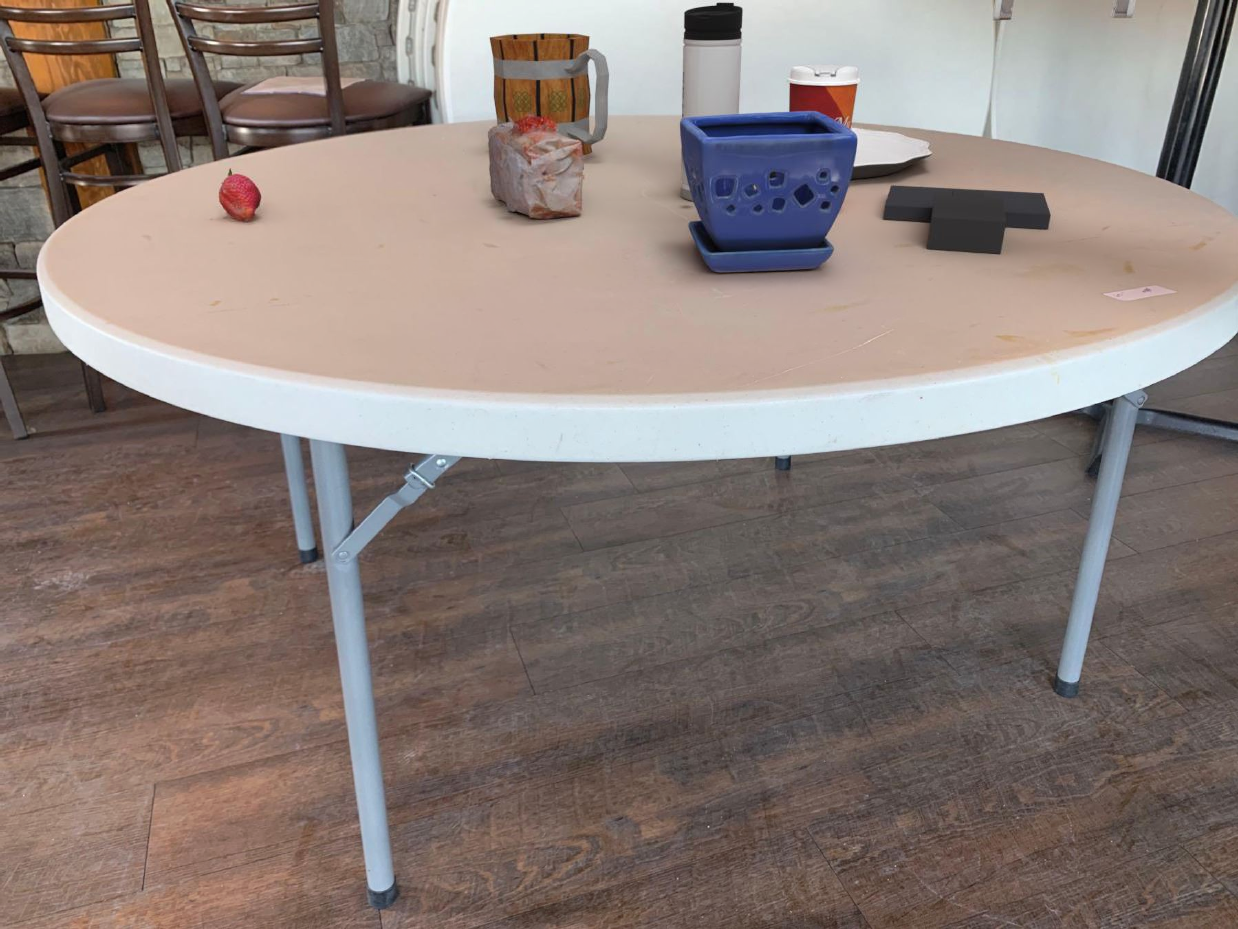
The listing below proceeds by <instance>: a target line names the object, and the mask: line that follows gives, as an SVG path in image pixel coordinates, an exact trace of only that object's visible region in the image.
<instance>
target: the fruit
mask: <svg viewBox="0 0 1238 929" xmlns="http://www.w3.org/2000/svg"><path fill="white" fill-rule="evenodd" d="M218 199H219V201H218V202H219V203H220V205H221V206H222V208H223V209H224V211H225V213H227V214H228V216H230V217H231V218H233V219H235V220H238V221H240V222H245V221H247V222H248V221H250V220H251V219H253V218H254V216H255V213H256V210H257V209H258V208H259V206H260V205H261V202H262V201H261V200H262V193H261V191H260V189H259V188H258V186H257V185H256V184H255V182H254V181H253V180H252V179H250V177H248V176H246V175H243V174H239V173H234V174H233V172H232V168H231V167H230V168H229V169H228V172H227V176H226V177H225V179H223V181H222V182H221V186H220V187H219V190H218Z"/></svg>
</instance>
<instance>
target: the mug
mask: <svg viewBox="0 0 1238 929" xmlns="http://www.w3.org/2000/svg"><path fill="white" fill-rule="evenodd" d="M590 38H591V37H590V35H585V34H580V33H560V32H559V33H557V32H556V33H554V32H553V33H552V32H539V33H538V32H537V33H535V32H534V33H513V34H502V35H496V36H490V37H489V43H490V49H491V53H492V62H493V64H492V65H493V102H494V107H495V115H496V126H497V125H500V124H504V123H507V122H511V121H510V119H509V117H510V118H511V119H512V121H513V122H514V121H518V120H519V118H520V119H522V118H524V117H526V116H528V115H529V114H532V113H533V114H534V116H535V117H540V118H543V117H544V116H545V117H551V118H552V121H553V122H554V123H556V124H557V129H558V130H559V131H558V134H560V135H563V136H566V137H568V138H571V139H574V140H579V141H581V143H582V153H583V156H586V155H588V154H590V153H592V152H593V150H592V146H593V145H594V144H596V143H599V142H601V141H602V140H604V139H605V135H606V132H607V129H608V120H609V118H608V117H609V85H610V84H609V82H610V72H609V67H608V62H607V58H606V55H604V54H603V53H601V51H599V50H597V49H596V48H590ZM590 60H592V61H593V63H594V68H595V75H596V79H595V80H596V81H595V90H594V92H595V94H594V114H595V115H594V129H593V133H592V134H591V133H590V110H591V99H592V98H591V97H592V94H591V87H590V77H589V62H590Z"/></svg>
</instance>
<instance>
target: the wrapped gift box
mask: <svg viewBox="0 0 1238 929" xmlns="http://www.w3.org/2000/svg"><path fill="white" fill-rule="evenodd" d="M509 119H510V121H511V122H507V123H504V124H500V125H497V124H496V125H495V126H492V127H491V128H490V129H488V132H487V134H488V135H487V138H488V141H487V146H488V159H489V160H488V161H489V166H488V171H489V177H490V178H489V180H490V192H491V194H492V196H493V198H494V199H497V200H500V201H502V202H504V203H505V204H506V210H507V212H513V213H520V214H522V215H526V216H528V217H529V218H531V219H536V220H547V219H559V218H569V217H573V216H575V217H576V216H580V215H582V213H581V212H582V210H583V205H582V204H583V182H584V181H583V180H585V179H586V178H585V174H584V172H583V171H584V169H585V166H584V155H583V153H582V143H581V141H579V140H574V139H571V138H568V137H566V136H563V135H560V134H558V131H559V130H558V129H557V124H556V123H554V122H553V121H552V118H551V117H545V116H544V117H543V118H540V117H535V116H534V114H533V113H532V114H529V115H528V116H526V117H524V118H522V119H520V118H519V120H518V121H514V122H513V121H512V119H511V118H510V117H509Z"/></svg>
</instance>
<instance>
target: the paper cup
mask: <svg viewBox="0 0 1238 929" xmlns="http://www.w3.org/2000/svg"><path fill="white" fill-rule="evenodd" d="M786 82H787V83H789V92H788V94H789V96H788V97H789V98H788V100H789V101H788V104H789V105H788V112H797V111H817V112H819V113H822V114H824V115H826V116H828V117H830V118H831V119H833V120H835V121H837V122H839V123H841V124H843V125H844V126H846V127H848V128H849V129H851V128H852V123H853V116H854V110H855V105H856V104H855V103H856V97H857V91H858V84H860V83H861V82H862V80H861V78H860V77H859V69H858V67H856V66H853V65H852V66H851V65H843V64H804V65H803V64H801V65H795V66H792V68H791V70H790V75H789V77H788V78H787V79H786Z"/></svg>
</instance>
